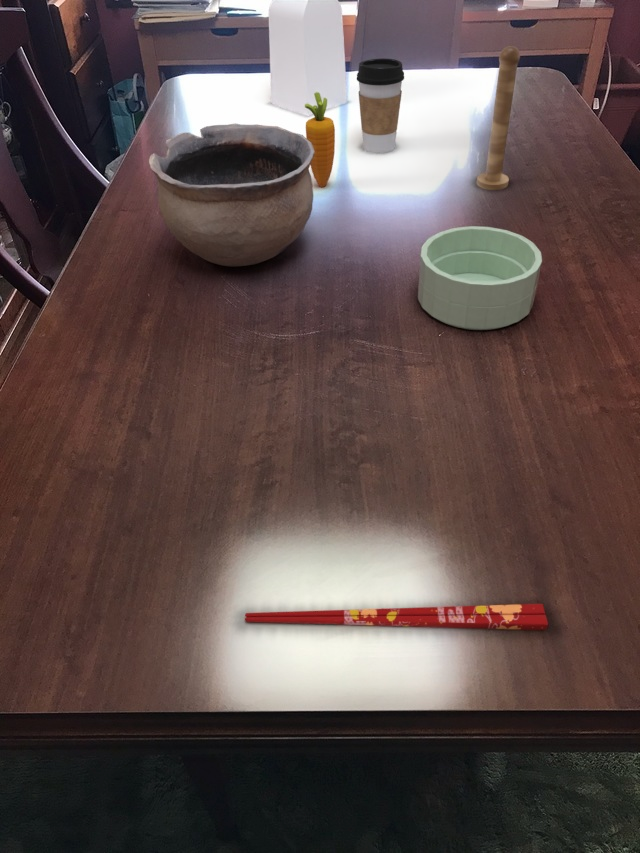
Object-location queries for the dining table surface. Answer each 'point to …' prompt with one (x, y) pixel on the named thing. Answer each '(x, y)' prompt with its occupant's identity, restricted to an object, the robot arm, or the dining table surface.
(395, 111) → the coffee cup
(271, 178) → the ceramic bowl
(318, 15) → the milk
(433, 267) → the celadon bowl
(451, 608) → the chopstick
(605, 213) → the dining table surface
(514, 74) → the muddler
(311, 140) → the carrot
